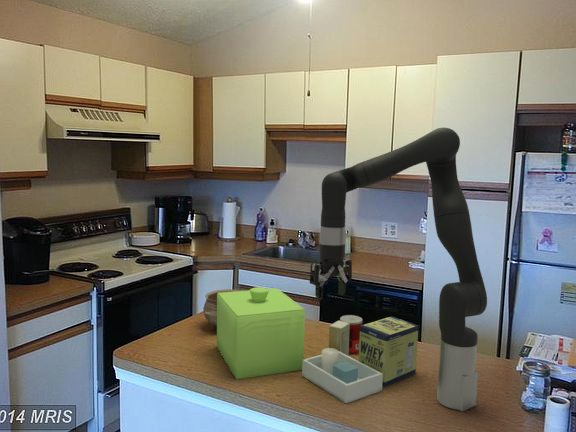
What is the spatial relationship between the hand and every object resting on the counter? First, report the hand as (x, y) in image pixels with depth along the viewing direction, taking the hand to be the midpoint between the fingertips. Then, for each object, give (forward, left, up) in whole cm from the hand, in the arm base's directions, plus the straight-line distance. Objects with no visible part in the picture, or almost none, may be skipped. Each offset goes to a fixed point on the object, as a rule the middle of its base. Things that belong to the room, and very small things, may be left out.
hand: (330, 296), depth 144 cm
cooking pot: (+53, +5, -25) cm, 59 cm away
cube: (-7, -1, -24) cm, 25 cm away
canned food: (+12, -20, -25) cm, 34 cm away
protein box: (-8, -17, -25) cm, 31 cm away
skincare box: (+7, -11, -25) cm, 28 cm away
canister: (+22, +11, -25) cm, 35 cm away
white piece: (0, -1, -24) cm, 24 cm away
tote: (-5, -1, -25) cm, 25 cm away
